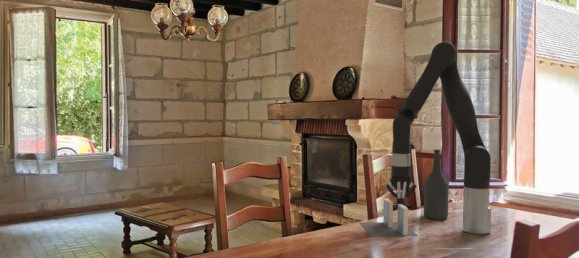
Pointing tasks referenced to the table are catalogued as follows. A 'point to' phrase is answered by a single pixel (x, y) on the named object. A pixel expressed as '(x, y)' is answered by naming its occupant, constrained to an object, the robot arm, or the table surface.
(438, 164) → the bottle
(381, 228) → the mat
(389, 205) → the tile
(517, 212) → the table surface
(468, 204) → the robot arm
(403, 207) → the tile
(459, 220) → the table surface
